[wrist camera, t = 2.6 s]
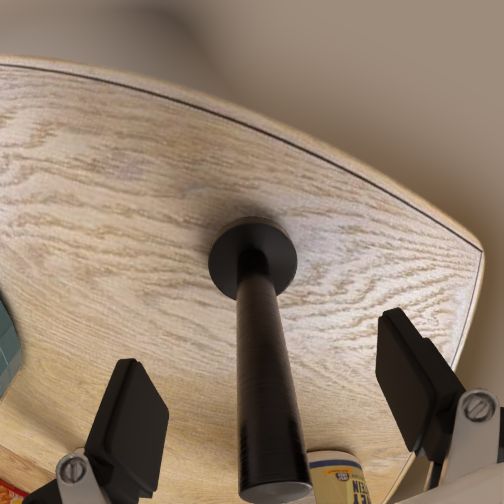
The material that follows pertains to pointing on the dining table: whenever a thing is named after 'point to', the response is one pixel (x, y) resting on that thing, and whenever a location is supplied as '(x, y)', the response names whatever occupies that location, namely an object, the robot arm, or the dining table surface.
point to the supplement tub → (335, 479)
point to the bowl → (8, 353)
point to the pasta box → (10, 494)
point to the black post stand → (262, 360)
